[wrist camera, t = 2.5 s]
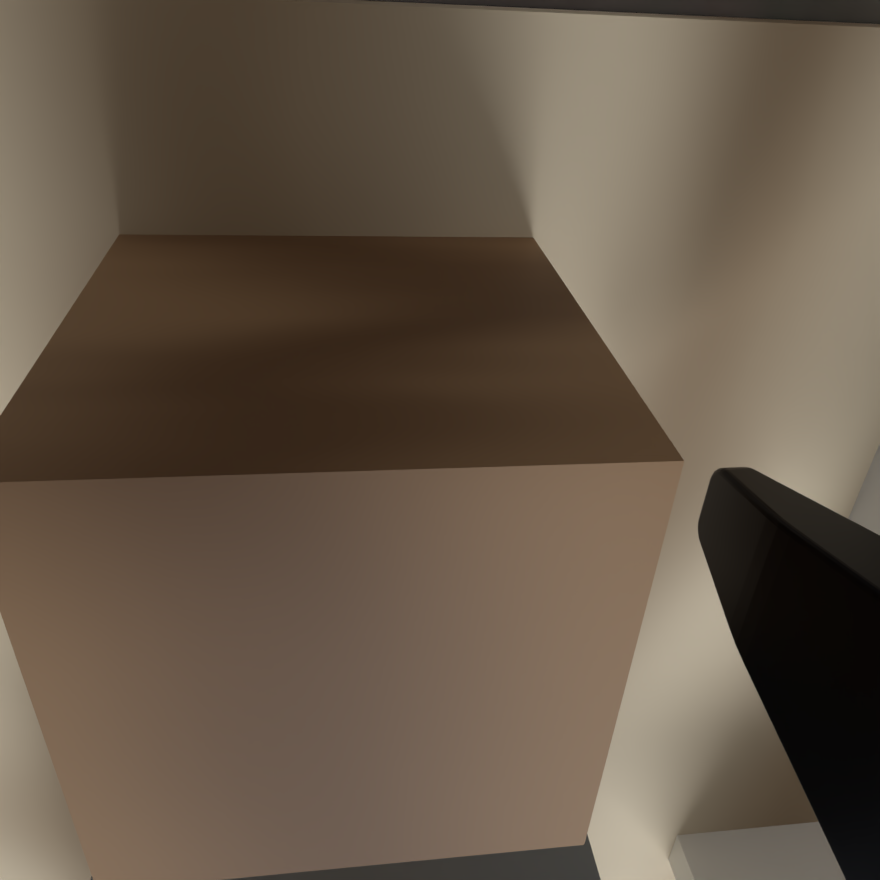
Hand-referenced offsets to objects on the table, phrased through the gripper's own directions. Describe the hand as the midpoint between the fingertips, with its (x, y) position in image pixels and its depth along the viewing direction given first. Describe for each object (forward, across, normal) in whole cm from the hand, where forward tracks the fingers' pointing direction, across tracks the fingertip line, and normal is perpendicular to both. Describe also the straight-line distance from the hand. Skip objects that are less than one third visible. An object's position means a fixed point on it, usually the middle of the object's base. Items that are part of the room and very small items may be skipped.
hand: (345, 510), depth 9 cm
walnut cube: (+2, 0, 0) cm, 2 cm away
